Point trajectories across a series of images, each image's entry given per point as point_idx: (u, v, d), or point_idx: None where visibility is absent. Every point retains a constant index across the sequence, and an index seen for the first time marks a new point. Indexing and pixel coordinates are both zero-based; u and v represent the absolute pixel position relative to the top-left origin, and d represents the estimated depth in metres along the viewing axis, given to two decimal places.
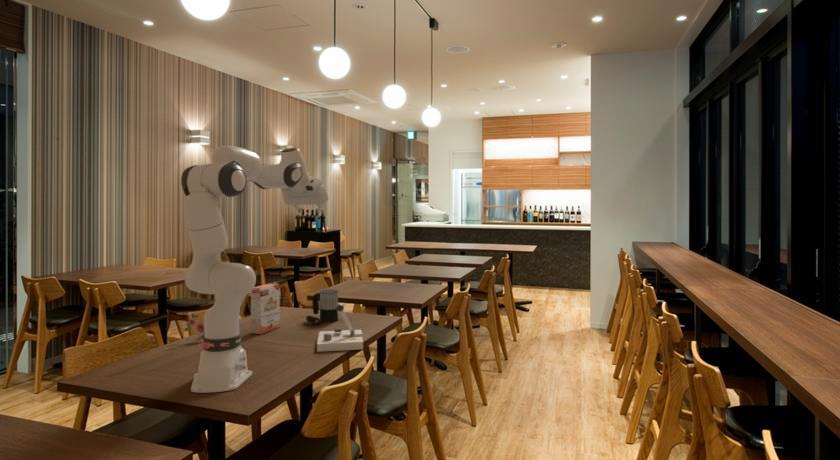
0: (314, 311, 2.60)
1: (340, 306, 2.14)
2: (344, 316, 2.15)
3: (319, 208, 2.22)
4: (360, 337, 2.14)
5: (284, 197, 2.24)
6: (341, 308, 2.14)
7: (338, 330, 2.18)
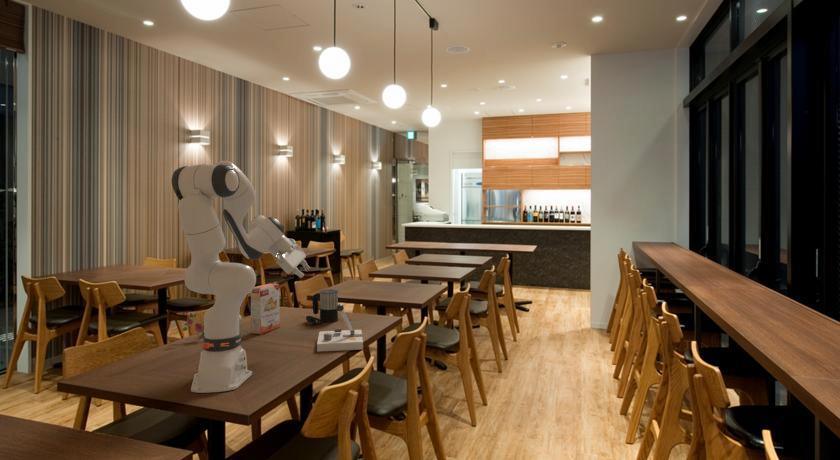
0: (314, 311, 2.60)
1: (340, 306, 2.14)
2: (344, 316, 2.15)
3: (306, 263, 2.20)
4: (360, 337, 2.14)
5: (287, 261, 2.04)
6: (341, 308, 2.14)
7: (338, 330, 2.18)
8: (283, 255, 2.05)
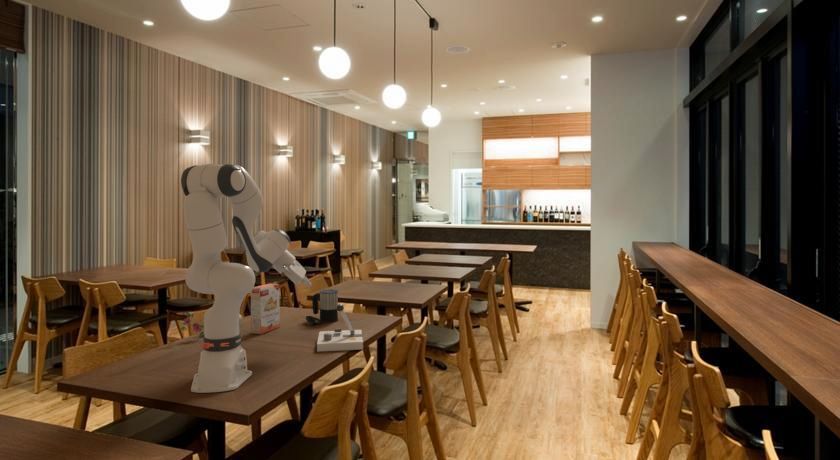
0: (314, 311, 2.60)
1: (340, 306, 2.14)
2: (344, 316, 2.15)
3: (307, 279, 2.15)
4: (360, 337, 2.14)
5: (296, 272, 2.04)
6: (341, 308, 2.14)
7: (338, 330, 2.18)
8: (290, 267, 2.04)
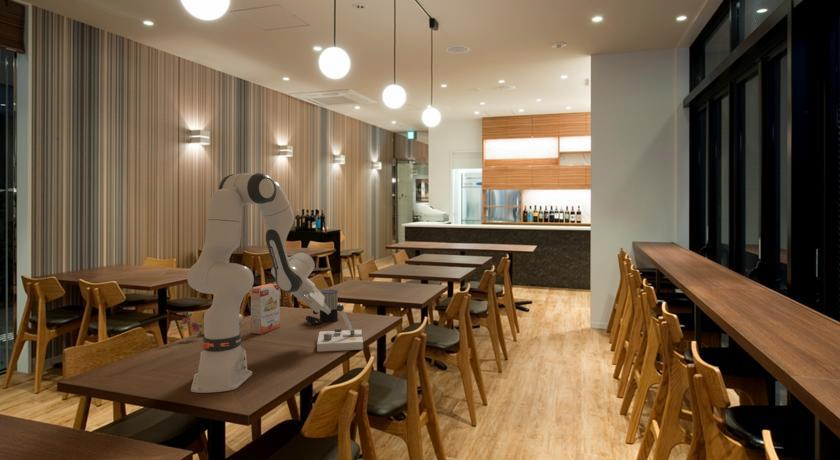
0: (314, 311, 2.60)
1: (340, 306, 2.14)
2: (344, 316, 2.15)
3: (326, 306, 2.17)
4: (360, 337, 2.14)
5: (316, 300, 2.05)
6: (341, 308, 2.14)
7: (338, 330, 2.18)
8: (310, 294, 2.06)
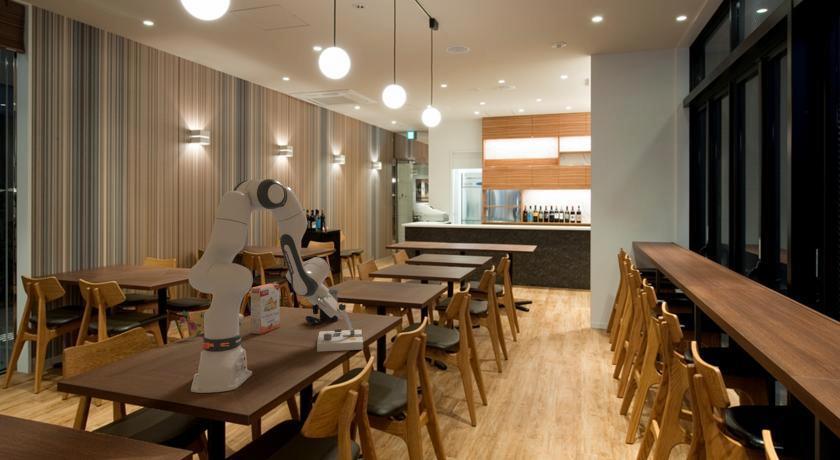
0: (314, 311, 2.60)
1: (342, 305, 2.14)
2: (345, 315, 2.15)
3: (339, 311, 2.18)
4: (360, 337, 2.14)
5: (330, 305, 2.06)
6: (343, 307, 2.14)
7: (338, 330, 2.18)
8: (325, 299, 2.07)
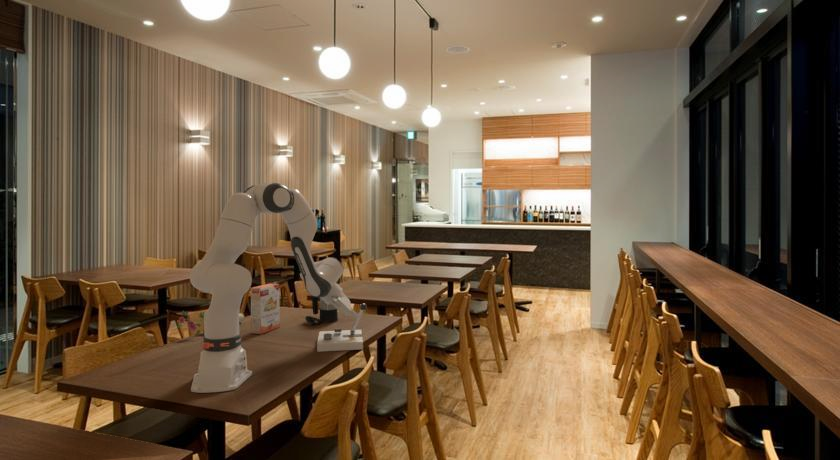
0: (314, 311, 2.60)
1: (365, 306, 2.16)
2: (360, 315, 2.16)
3: (353, 310, 2.19)
4: (360, 337, 2.14)
5: (344, 304, 2.07)
6: (364, 308, 2.16)
7: (338, 330, 2.18)
8: (339, 299, 2.08)
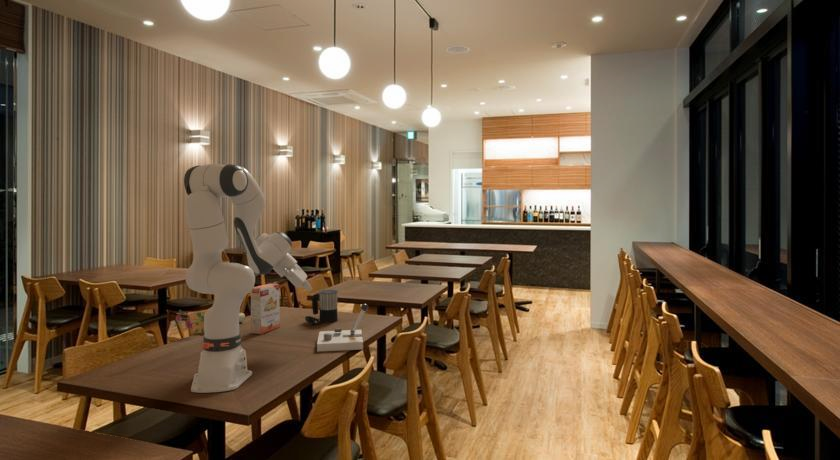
0: (314, 311, 2.59)
1: (366, 307, 2.16)
2: (360, 316, 2.16)
3: (308, 283, 2.15)
4: (360, 337, 2.14)
5: (297, 275, 2.03)
6: (365, 309, 2.16)
7: (338, 330, 2.18)
8: (291, 269, 2.04)
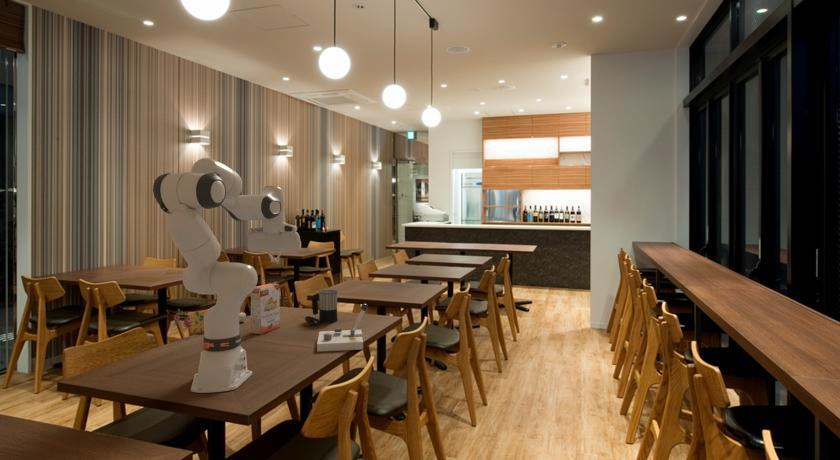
0: (313, 311, 2.59)
1: (366, 307, 2.16)
2: (360, 316, 2.16)
3: (279, 256, 2.06)
4: (360, 337, 2.14)
5: (250, 241, 2.03)
6: (365, 309, 2.16)
7: (338, 330, 2.18)
8: (252, 234, 2.03)
